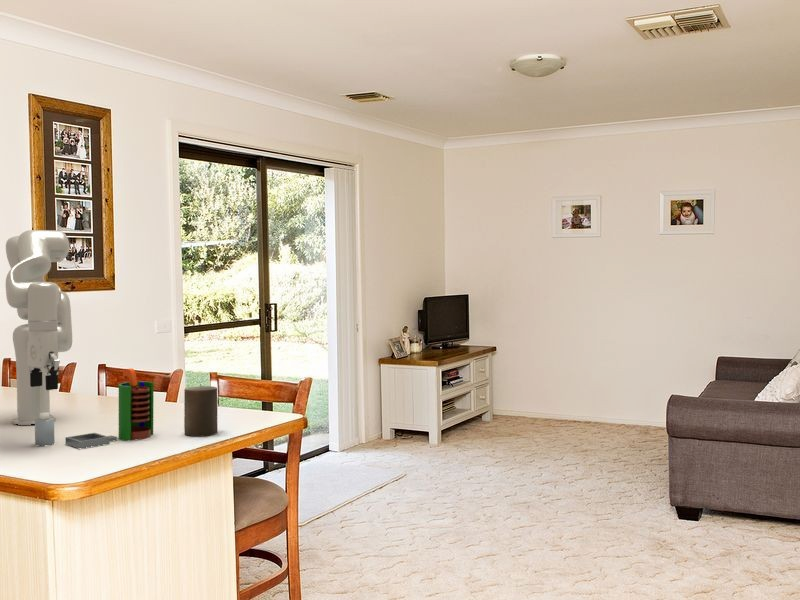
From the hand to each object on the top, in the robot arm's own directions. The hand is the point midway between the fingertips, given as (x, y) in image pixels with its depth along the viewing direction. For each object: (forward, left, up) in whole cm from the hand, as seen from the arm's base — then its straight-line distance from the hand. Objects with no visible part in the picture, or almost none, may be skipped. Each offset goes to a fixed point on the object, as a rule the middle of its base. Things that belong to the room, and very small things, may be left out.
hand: (44, 387), depth 222 cm
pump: (0, 0, -16) cm, 16 cm away
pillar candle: (+20, +38, -16) cm, 46 cm away
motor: (+10, +22, -16) cm, 29 cm away
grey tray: (+9, +10, -16) cm, 21 cm away
